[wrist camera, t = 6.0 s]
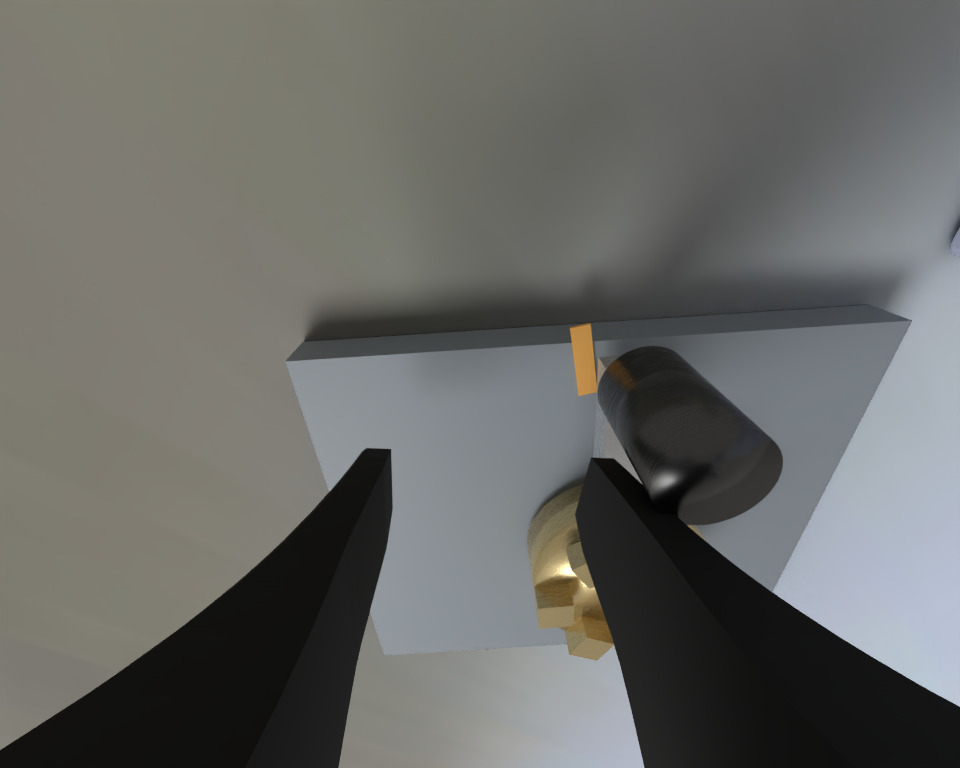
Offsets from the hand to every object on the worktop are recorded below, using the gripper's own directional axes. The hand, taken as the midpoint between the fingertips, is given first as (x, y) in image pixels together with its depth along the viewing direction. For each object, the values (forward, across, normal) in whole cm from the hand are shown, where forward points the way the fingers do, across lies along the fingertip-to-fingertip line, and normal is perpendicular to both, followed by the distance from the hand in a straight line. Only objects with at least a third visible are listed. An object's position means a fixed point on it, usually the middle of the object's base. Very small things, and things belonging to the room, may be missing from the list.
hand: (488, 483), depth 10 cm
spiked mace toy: (+3, -5, +2) cm, 6 cm away
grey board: (+5, -4, +6) cm, 9 cm away
